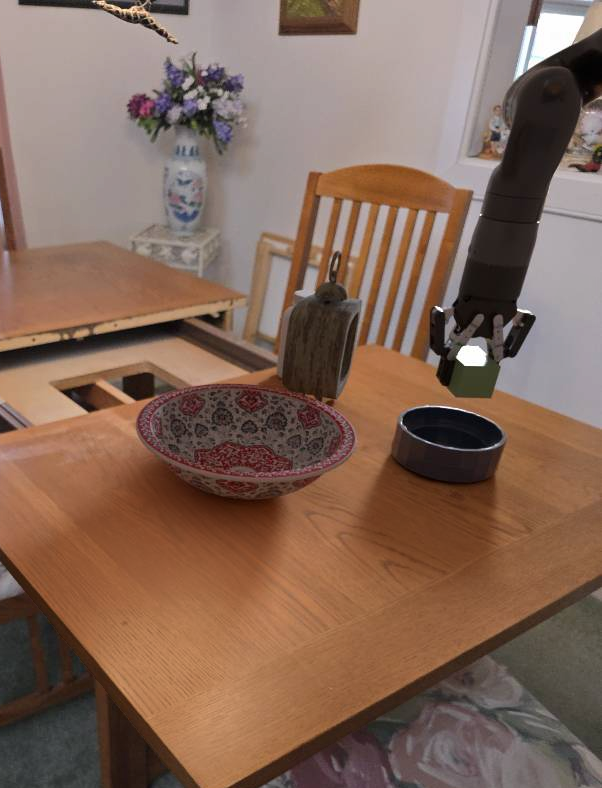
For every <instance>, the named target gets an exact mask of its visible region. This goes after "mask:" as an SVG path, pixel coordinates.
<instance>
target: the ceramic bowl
mask: <svg viewBox="0 0 602 788" xmlns="http://www.w3.org/2000/svg"><path fill="white" fill-rule="evenodd" d="M135 431H136V434H137V437H138V439H139V441H140V442H141V444H142V445H143V446H144V447H145V448H146V449H147V450H148V451H149V452H150V453H152V454H153V455H154V456H156V457H158V458H159V459H160V460H161V461H162V462H163V464H164V465H165V466H166V467H167V468H168V469H169V470H170V471H171V472H172V473H173V474H175V475H176V476H177V477H178V478H180V479H181V480H183V481H184V482H185V483H187V484H189V485H190V486H193V487H194V488H197V489H199V490H201V491H203V492H205V493H209V494H213V495H216V496H220V497H224V498H230V499H238V500H263V499H264V500H266V499H272V498H278V497H283V496H286V495H289V494H293V493H294V492H297V491H300V490H302V489H304V488H306V487H307V486H309V485H311V484H313V483H314V482H316V481H317V480H319V478H321V477H323V475H325V474H326V473H328V472H331V471H333V470H335V469H337V468H338V467H341V465H343V464H345V463H346V462H347V461H348V460H349V459H350V457H351V456H352V455H353V453H354V452H355V450H356V446H357V434H356V433H357V432H356V431H355V429H354V427H353V425H352V423H350V421H349V420H348V419H347V418H346V416H344V415H343V414H341V413H340V412H339V411H338V410H337V409H335V408H333V407H332V406H329V405H327V404H326V403H324V402H323V401H322V402H320V401H317V400H316V398H313V397H310V396H308V395H305V396H304V395H302V394H301V393H296V392H291V391H290V390H286V389H284V388H283V389H282V388H279V387H278V388H276V387H273V386H272V387H271V386H266V385H257V384H248V383H247V384H246V383H208V384H200V385H193V386H188V387H183V388H177V389H175V390H172V391H169V392H166V393H164V394H161V395H159V396H157V397H155V398H154V399H152V400H149V402H148V403H146V404H145V405H144V406H143V407H142V408H141V409H140V411H139V412H138V414H137V416H136V420H135Z"/></svg>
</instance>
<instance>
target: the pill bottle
mask: <svg viewBox="0 0 602 788" xmlns="http://www.w3.org/2000/svg"><path fill="white" fill-rule="evenodd" d="M315 291H316V290H309V289H300V290H296V291H294V293H293V296H292V302H291V305H292V306H289V307H288V308H286V309H285V310H284V312H283V315H282V322H281V329H280V336H279V337H280V339H279V345H278V353H277V361H276V375H277V376H278V377H279V378H280V379H282V370H283V361H284V351H285V344H286V336H287V329H288V323H289V318H290V314H291V312H292V310H293V309H294V307H295V306H296V305H297V304H298V302H299V301H300V300H302V299H303V298H305V297H307V296H310V295H313V294H314V293H315Z"/></svg>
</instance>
